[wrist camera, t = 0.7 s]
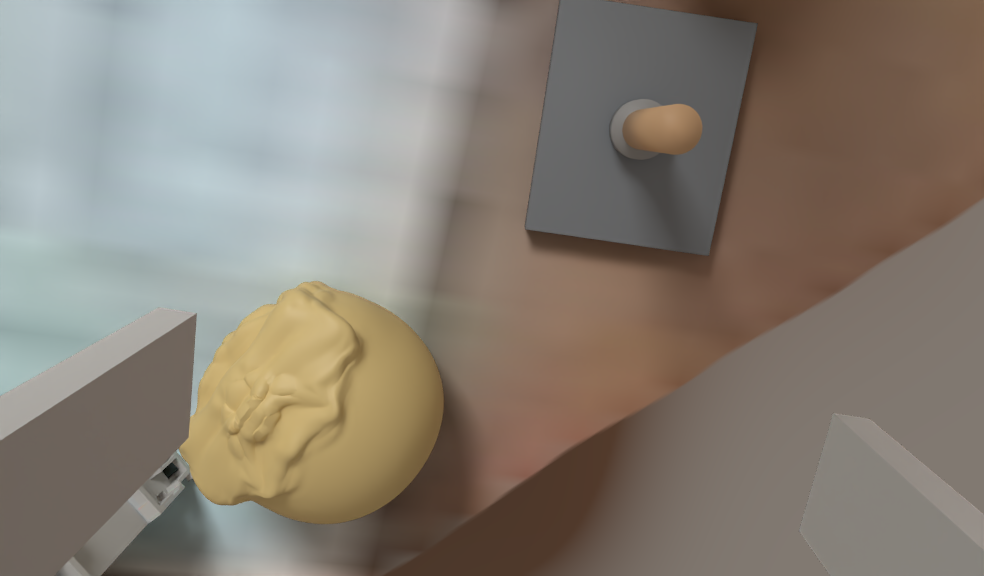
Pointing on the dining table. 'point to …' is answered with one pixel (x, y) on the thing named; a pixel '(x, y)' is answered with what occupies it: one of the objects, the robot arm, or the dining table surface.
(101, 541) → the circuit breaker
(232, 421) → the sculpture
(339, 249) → the dining table surface
